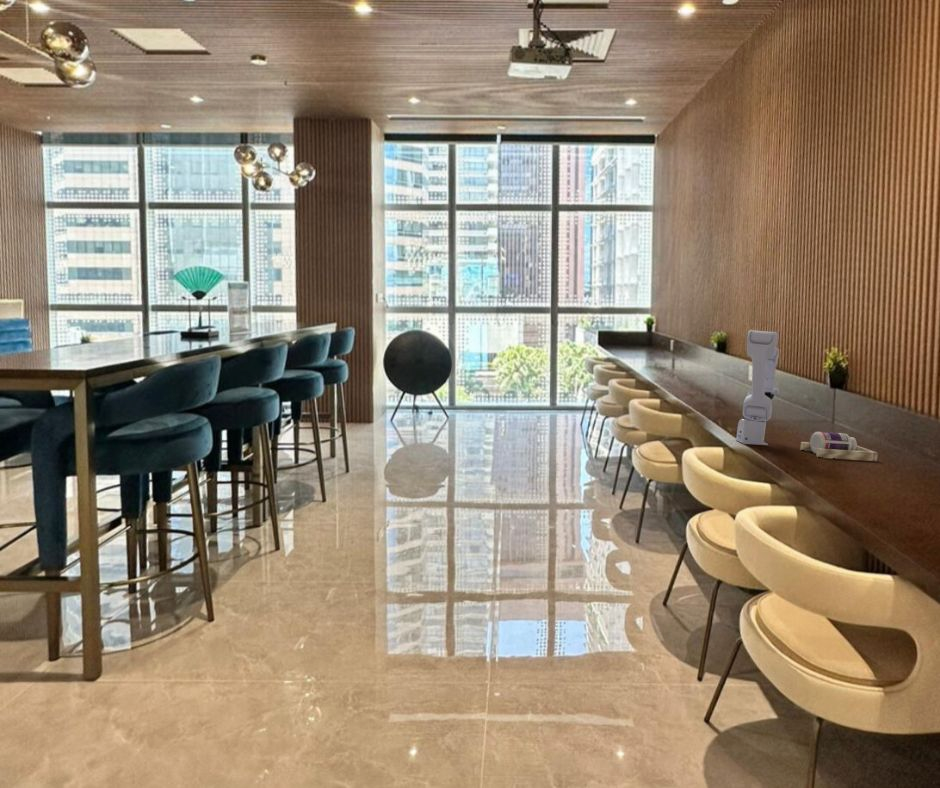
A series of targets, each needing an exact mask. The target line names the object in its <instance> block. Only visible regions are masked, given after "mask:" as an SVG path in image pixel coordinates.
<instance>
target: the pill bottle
mask: <svg viewBox="0 0 940 788" xmlns="http://www.w3.org/2000/svg"><path fill="white" fill-rule="evenodd" d="M810 437H811V438H810V441H809V442H810V447H811V450H812V451H811V452H813V453H814V454H816V453H817V448H820V449H836V450H852V451H855V450H856V447H857V446H858V444H857V440H856V438H855V437H852V436H849V434H847V433H844V432H831V431H830V432H827V431H815V432H814V433H813V434H812V435H811V436H810Z"/></svg>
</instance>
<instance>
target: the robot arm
mask: <svg viewBox="0 0 940 788" xmlns="http://www.w3.org/2000/svg"><path fill="white" fill-rule="evenodd" d="M778 340H779V333H778V332H777V331H766V330H763V331H762V330H754V329H750V330H749V331H748V333H747V337H746V355H747V356H748V357H750V358H751V362H752V364H751V366H752V367H751V368H752V369H751V370H752V373H751V376H752V377H751V388H750V394H749V395H747V396H746V397H745V398H744V400H743V406H742V416H743V418H744V419H743V418H741V419H739V421H738V423H737V430H736V437H735V441H737V442H739V443H741V444H743V445H757V446H758V445H759V446H769V444H768V443H766V442H765V436H766V435H765V434H766V427H767V421H769V420H771V418H772V415H773V414H772V413H773V403H772V402H773V401H772V400H773V398H774V396H775V394H779V393H780V387H775V386H774V385H775V378H776V370H777V369H776V367H777V365H778V361H779V358H780V349H779V348H778V347H777V346H778Z"/></svg>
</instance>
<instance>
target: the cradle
mask: <svg viewBox="0 0 940 788" xmlns="http://www.w3.org/2000/svg"><path fill="white" fill-rule="evenodd" d="M801 450H804V452H813V451H812V450H811V447H810V441H809V442H808V441H800V448H799V451H801ZM878 455H879V453H878V452H877V451H874V450H871V449H868V448H865V447H863V446H859V445H857V447H856V450H855V451H852V450H836V449H820V448H817V453H816V455H815V457H816V458H818V457H821V458H820V459H833V458H835V459H836V460H837V459H839V460H853V461H868V462H877V461H878ZM822 457H823V458H822Z"/></svg>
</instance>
